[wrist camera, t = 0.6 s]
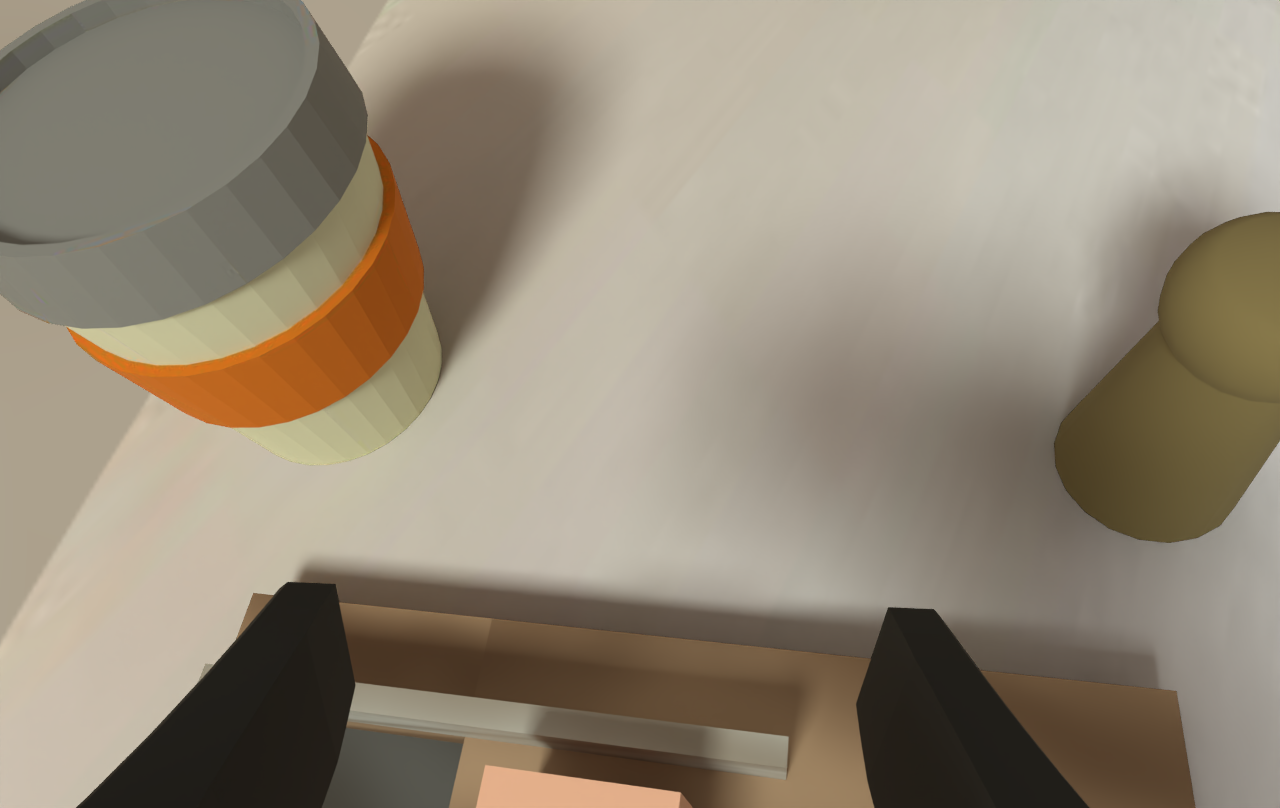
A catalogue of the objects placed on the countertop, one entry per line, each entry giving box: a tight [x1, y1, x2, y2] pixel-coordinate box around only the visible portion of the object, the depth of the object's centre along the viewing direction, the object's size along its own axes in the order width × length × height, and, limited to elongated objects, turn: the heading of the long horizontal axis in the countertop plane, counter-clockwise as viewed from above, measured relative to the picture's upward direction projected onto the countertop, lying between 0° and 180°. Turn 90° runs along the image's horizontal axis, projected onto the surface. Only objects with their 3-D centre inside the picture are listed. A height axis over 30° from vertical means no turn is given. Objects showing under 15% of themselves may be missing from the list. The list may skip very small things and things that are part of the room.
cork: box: [1054, 212, 1280, 543], centre depth 26 cm, size 6×6×11 cm
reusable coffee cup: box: [0, 0, 442, 465], centre depth 31 cm, size 13×13×15 cm
